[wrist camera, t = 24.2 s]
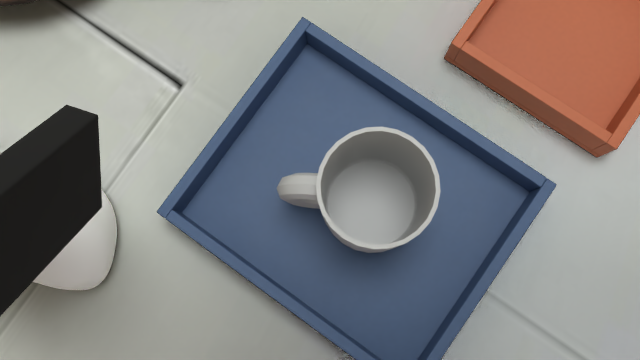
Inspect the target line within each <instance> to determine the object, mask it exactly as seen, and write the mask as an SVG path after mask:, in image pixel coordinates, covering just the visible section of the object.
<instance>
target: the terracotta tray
mask: <svg viewBox="0 0 640 360" xmlns="http://www.w3.org/2000/svg"><path fill="white" fill-rule="evenodd" d="M444 59H446V60H447V61H449V62H450V63H452V64H453V65H455V66H457V67H458V68H460V69H461V70H463V71H464V72H466V73H467V74H469V75H470V76H472V77H474V78H475V79H477V80H478V81H480V82H481V83H483V84H484V85H486V86H487V87H489V88H491V89H492V90H494V91H495V92H497V93H498V94H500V95H501V96H503V97H504V98H506V99H508V100H509V101H511V102H512V103H514V104H515V105H517V106H518V107H520V108H521V109H523V110H525V111H526V112H528V113H529V114H531V115H532V116H534V117H535V118H537V119H538V120H540V121H542V122H543V123H545V124H546V125H548V126H549V127H551V128H552V129H554V130H556V131H557V132H559V133H560V134H562V135H563V136H565V137H566V138H568V139H569V140H571V141H573V142H574V143H576V144H577V145H579V146H580V147H582V148H583V149H585V150H586V151H588V152H590V153H591V154H593V155H594V156H596V157H600V156H602V155H604V154H607V153H609V152H611V151H613V150H616V149H617V148H618V147H619V145H620V144H621V142H622V140H623V139H624V137H625V136H626V134H627V133H628V131H629V130H630V128H631V127H632V125H633V124H634V122H635V121H636V119H637V118H638V116H639V115H640V0H481V2H480V3H479V4H478V6H477V7H476V9H475V10H474V11H473V13H472V14H471V16H470V17H469V18H468V20H467V21H466V23H465V24H464V25H463V27H462V28H461V30H460V31H459V33H458V34H457V35H456V37H455V38H454V40H453V41H452V42H451V44H450V46H449V49H448V51H447V53H446V55H445V57H444Z"/></svg>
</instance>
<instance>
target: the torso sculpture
mask: <svg viewBox="0 0 640 360" xmlns="http://www.w3.org/2000/svg"><path fill="white" fill-rule="evenodd" d="M0 154H1V153H0ZM101 193H102V208H101V209H100V210H99V211H98V212H97V213H96V214H95V215H94V216H93V218H92V219H91V220H90V221H89V222H88V223H87V224H86V225H85V226H84V227H83V228H82V229H81V230H80V231H79V232H78V234H77V235H76V236H75V237H74V238H73V239H72V240H71V241H70V242H69V243H68V244H67V245H66V246H65V247H64V249H63V250H62V251H61V252H60V253H59V254H58V255H57V256H56V257H55V258H54V259H53V260H52V261H51V262H50V263H49V265H48V266H47V267H46V268H45V269H44V270H43V271H42V272H41V273H40V274H39V275H38V276H37V277H36V278H35V280H34V281H33V282H35V283H39V284H42V285H45V286H49V287H53V288H58V289H64V290H88V289H91V288H94V287H96V286H97V285H99V284H100V283H101V282H102V281H103V280H104V279H105V277H106V276H107V274H108V272H109V270H110V268H111V265H112V262H113V257H114V252H115V246H116V240H117V223H116V217H115V213H114V209H113V207H112V205H111V203H110V201H109V199H108V197H107V196H106V194H105V193H104V192H103V191H102V189H101Z"/></svg>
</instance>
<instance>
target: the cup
mask: <svg viewBox="0 0 640 360" xmlns="http://www.w3.org/2000/svg"><path fill="white" fill-rule="evenodd" d="M277 191H278V194H279V197H280V198H281V199H282V200H284V201H286V202H288V203H290V204H292V205H296V206H301V207H307V208H317V209H321V213H322V215H323V218H324V220H325V222H326V225H327V226H328V228H329V229H330V231H331V232H332V234H333V235H334V236H335V237H336V238H337V239H338V240H339V241H340V242H342V243H343V244H344V245H346V246H348V247H350V248H352V249H354V250H357V251H362V252H366V253H376V252H384V251H387V250H390V249H393V248H396V247H398V246H401V245H403V244H405V243H407V242H409V241H410V240H412V239H413V238H415V237H416V236H418V235H419V234H420V233H421V232H422V231H423V230H424V229H425V228H426V227H427V225H428V224H429V223H430V222H431V220H432V218H433V216H434V214H435V212H436V210H437V207H438V202H439V197H440V192H441V191H440V179H439V174H438V171H437V168H436V165H435V163H434V160H433V159H432V157H431V156H430V154H429V153H428V151H427V150H426V149H425V147H424V146H423V145H421V144H420V143H419V142H418V141H417V140H416V139H414V138H413V137H412V136H410V135H408V134H406V133H404V132H402V131H399V130H397V129H392V128H387V127H366V128H363V129H360V130H357V131H354V132H351V133H349V134H348V135H346V136H344V137H343V138H341V139H340V140H338V141H337V142H336V143H335V144H334V145H333V146H332V148H331V149H330V150H329V151H328V152H327V153H326V155H325V157H324V159H323V161H322V163H321V165H320V167H319V171H318V173H295V174H292V175H289V176H286V177H282V179H281V181H280V183H279V184H278V186H277Z"/></svg>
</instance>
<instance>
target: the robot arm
mask: <svg viewBox="0 0 640 360" xmlns="http://www.w3.org/2000/svg"><path fill="white" fill-rule="evenodd" d="M101 208H102V193H101V172H100V150H99V129H98V115H96V114H93V113H90V112H87V111H84V110H81V109H78V108H75V107H72V106H69V105H66V106H64V107H63V108H62V109H60V110H59V111H58V112H56V113H55V114H54V115H52V116H51V117H50V118H48V119H47V120H46V121H44V122H43V123H42V124H40V125H39V126H37V127H36V128H35V129H33V130H32V131H31V132H29V133H28V134H27V135H25V136H24V137H23V138H21V139H20V140H19V141H17V142H16V143H15V144H13V145H12V146H11V147H9V148H8V149H7V150H5V151H4V152H3V153H1V154H0V316H1V315H2V314H3V313H4V312H5V311H6V309H7V308H8V307H9V306H10V305H11V304H12V303H13V302H14V301H15V300H16V299H17V298H18V297H19V296H20V294H21V293H22V292H23V291H24V290H25V289H26V288H27V287H28V286H29V285H30V284H31V283H32V282H33V281H34V280H35V278H36V277H37V276H38V275H39V274H40V273H41V272H42V271H43V270H44V269H45V268H46V267H47V266H48V265H49V263H50V262H51V261H52V260H53V259H54V258H55V257H56V256H57V255H58V254H59V253H60V252H61V251H62V250H63V249H64V247H65V246H66V245H67V244H68V243H69V242H70V241H71V240H72V239H73V238H74V237H75V236H76V235H77V234H78V232H79V231H80V230H81V229H82V228H83V227H84V226H85V225H86V224H87V223H88V222H89V221H90V220H91V219H92V218H93V216H94V215H95V214H96V213H97V212H98V211H99V210H100V209H101Z"/></svg>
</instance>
